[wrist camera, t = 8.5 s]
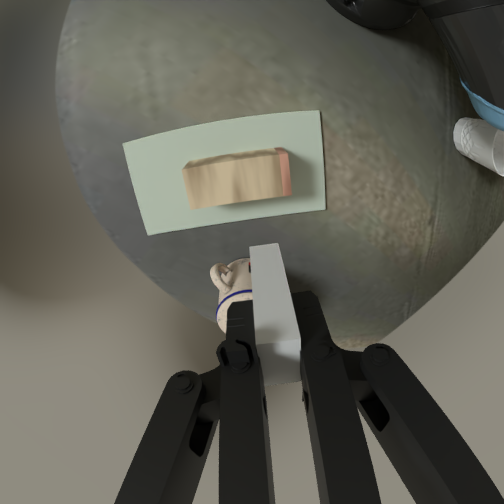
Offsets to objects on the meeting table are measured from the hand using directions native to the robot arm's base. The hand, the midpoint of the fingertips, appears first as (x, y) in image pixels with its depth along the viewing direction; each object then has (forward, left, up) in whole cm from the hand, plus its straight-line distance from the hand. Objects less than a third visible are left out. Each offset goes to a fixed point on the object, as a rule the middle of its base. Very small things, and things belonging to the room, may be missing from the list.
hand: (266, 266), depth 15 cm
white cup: (-37, -4, -24) cm, 44 cm away
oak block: (+8, 0, -21) cm, 22 cm away
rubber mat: (+3, 0, -23) cm, 24 cm away
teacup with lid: (+4, +16, -24) cm, 29 cm away
